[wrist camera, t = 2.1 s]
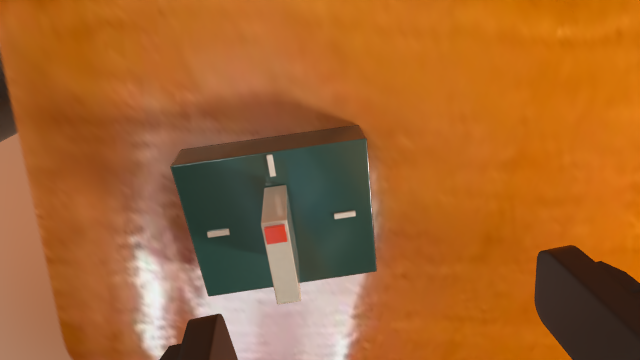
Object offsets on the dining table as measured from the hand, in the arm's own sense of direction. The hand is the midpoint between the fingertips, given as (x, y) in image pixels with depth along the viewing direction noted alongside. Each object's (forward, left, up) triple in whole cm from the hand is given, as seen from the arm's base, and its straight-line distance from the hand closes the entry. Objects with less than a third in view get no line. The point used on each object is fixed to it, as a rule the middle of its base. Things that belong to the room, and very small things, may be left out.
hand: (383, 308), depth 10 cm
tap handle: (-3, -6, -16) cm, 17 cm away
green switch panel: (-3, -6, -19) cm, 20 cm away
